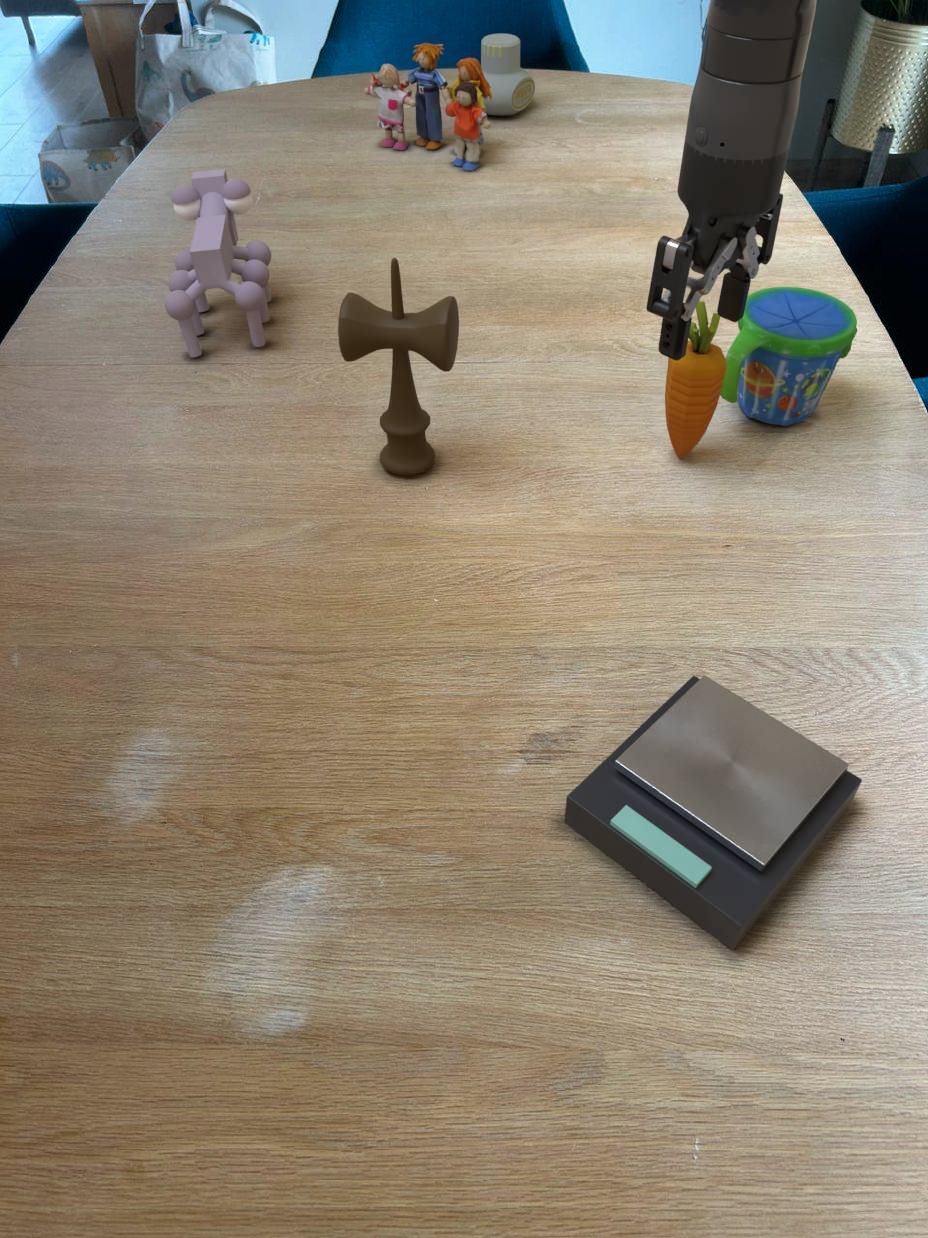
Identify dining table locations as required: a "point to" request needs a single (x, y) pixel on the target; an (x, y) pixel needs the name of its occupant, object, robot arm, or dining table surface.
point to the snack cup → (786, 352)
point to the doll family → (434, 104)
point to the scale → (692, 844)
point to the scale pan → (732, 770)
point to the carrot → (694, 385)
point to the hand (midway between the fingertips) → (701, 336)
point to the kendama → (401, 364)
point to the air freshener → (505, 75)
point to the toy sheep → (217, 256)
